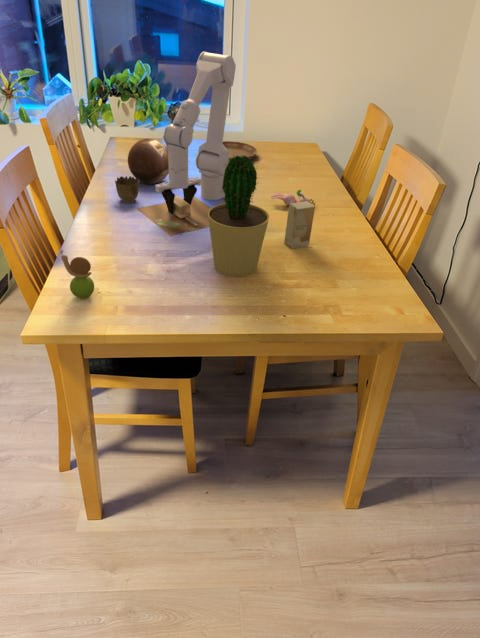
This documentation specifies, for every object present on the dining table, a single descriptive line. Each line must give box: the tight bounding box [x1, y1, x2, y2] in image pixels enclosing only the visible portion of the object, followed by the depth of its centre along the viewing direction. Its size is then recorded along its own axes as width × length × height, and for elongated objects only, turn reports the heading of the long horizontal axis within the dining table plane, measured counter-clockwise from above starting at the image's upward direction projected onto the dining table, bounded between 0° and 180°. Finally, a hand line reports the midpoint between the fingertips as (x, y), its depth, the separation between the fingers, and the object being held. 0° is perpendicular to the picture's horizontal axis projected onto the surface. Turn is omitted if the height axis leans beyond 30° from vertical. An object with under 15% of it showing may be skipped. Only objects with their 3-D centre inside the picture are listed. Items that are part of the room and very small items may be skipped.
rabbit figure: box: [270, 189, 316, 207], centre depth 172 cm, size 6×6×15 cm
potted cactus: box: [208, 154, 270, 278], centre depth 129 cm, size 15×15×30 cm
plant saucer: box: [208, 140, 258, 161], centre depth 212 cm, size 21×21×3 cm
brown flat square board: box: [136, 196, 212, 237], centre depth 160 cm, size 21×22×1 cm
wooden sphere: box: [127, 138, 169, 185], centre depth 179 cm, size 15×15×15 cm
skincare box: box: [283, 201, 316, 249], centre depth 147 cm, size 6×4×12 cm
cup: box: [114, 176, 140, 203], centre depth 165 cm, size 8×7×8 cm
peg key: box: [172, 195, 197, 226], centre depth 157 cm, size 4×14×4 cm, turn 35°
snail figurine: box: [59, 249, 95, 299], centre depth 118 cm, size 5×6×12 cm
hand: (178, 210), depth 159 cm, fingers open, 5 cm apart
